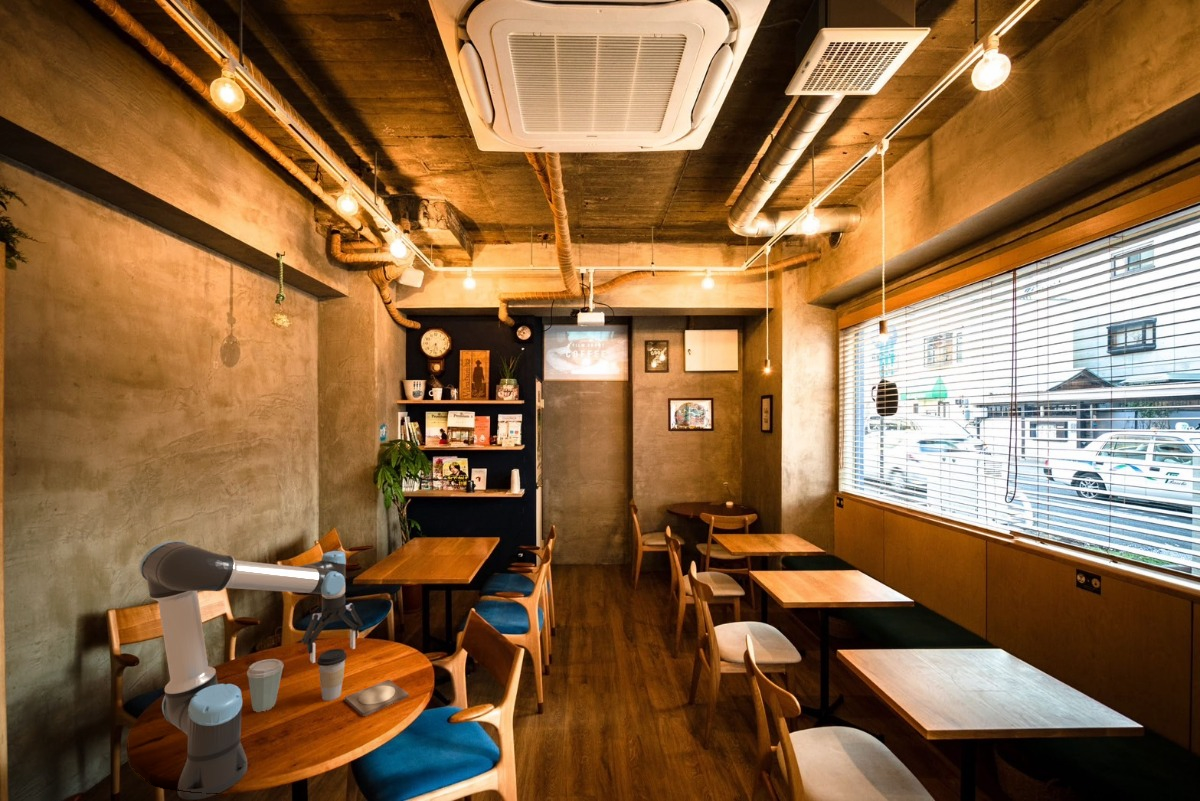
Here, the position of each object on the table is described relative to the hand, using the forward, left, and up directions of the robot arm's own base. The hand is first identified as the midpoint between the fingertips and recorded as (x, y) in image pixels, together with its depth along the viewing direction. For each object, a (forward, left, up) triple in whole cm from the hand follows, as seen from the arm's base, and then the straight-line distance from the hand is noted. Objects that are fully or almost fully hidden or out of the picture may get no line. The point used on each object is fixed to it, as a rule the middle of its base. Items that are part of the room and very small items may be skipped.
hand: (333, 654), depth 180 cm
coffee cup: (0, 0, -15) cm, 15 cm away
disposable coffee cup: (-18, +10, -15) cm, 26 cm away
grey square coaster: (+10, -14, -15) cm, 22 cm away
